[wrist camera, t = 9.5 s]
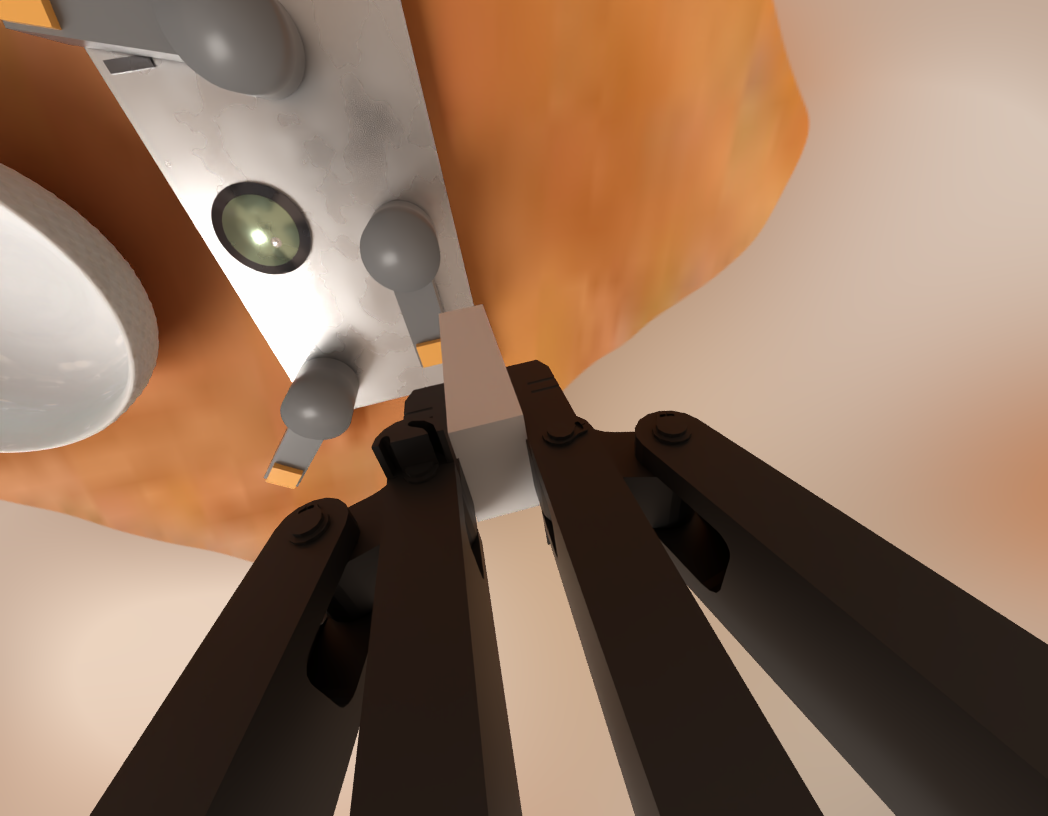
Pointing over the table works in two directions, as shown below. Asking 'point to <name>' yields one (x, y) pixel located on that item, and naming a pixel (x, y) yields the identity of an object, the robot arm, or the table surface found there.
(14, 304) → the cereal bowl
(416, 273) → the knob
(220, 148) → the level plate
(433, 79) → the table surface
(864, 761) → the robot arm
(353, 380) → the knob
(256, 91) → the knob
